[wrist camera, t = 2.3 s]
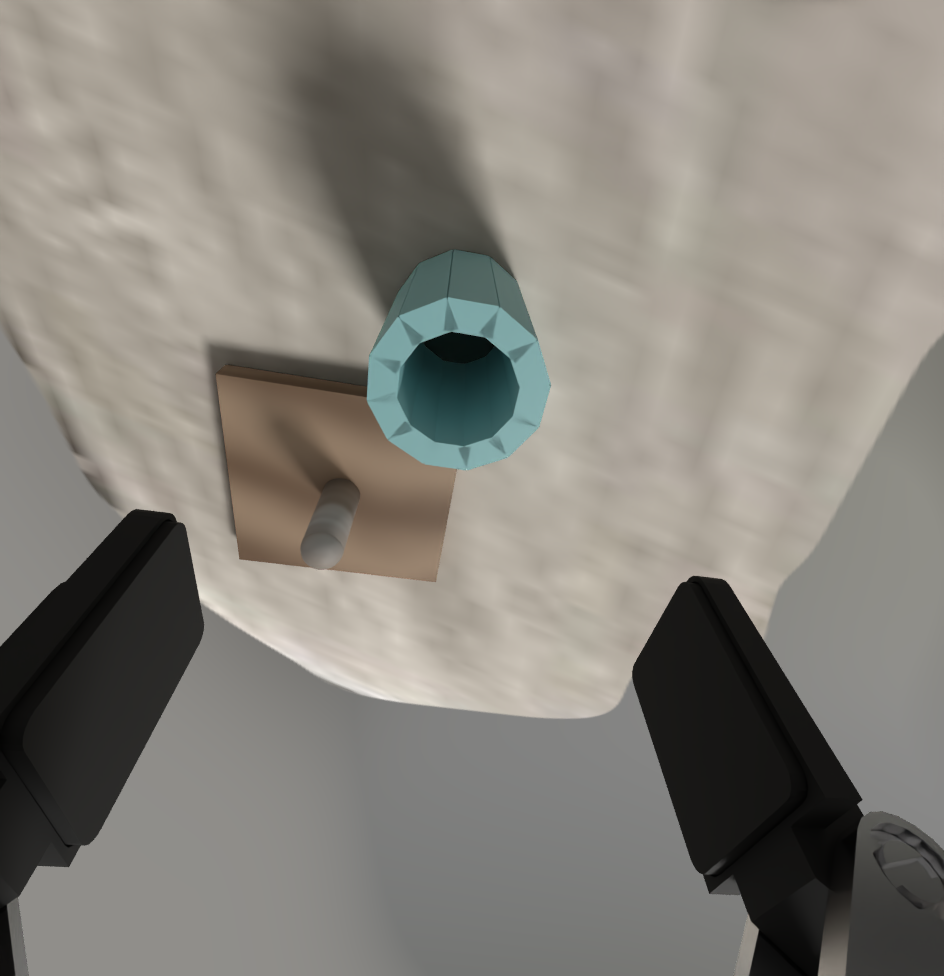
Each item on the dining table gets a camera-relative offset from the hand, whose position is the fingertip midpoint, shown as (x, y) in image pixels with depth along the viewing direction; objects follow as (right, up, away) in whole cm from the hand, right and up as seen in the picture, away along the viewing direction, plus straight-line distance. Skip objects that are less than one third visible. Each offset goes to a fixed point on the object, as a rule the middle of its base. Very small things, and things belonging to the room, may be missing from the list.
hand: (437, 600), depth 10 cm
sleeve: (0, +10, +13) cm, 17 cm away
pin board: (-7, +3, +19) cm, 20 cm away
